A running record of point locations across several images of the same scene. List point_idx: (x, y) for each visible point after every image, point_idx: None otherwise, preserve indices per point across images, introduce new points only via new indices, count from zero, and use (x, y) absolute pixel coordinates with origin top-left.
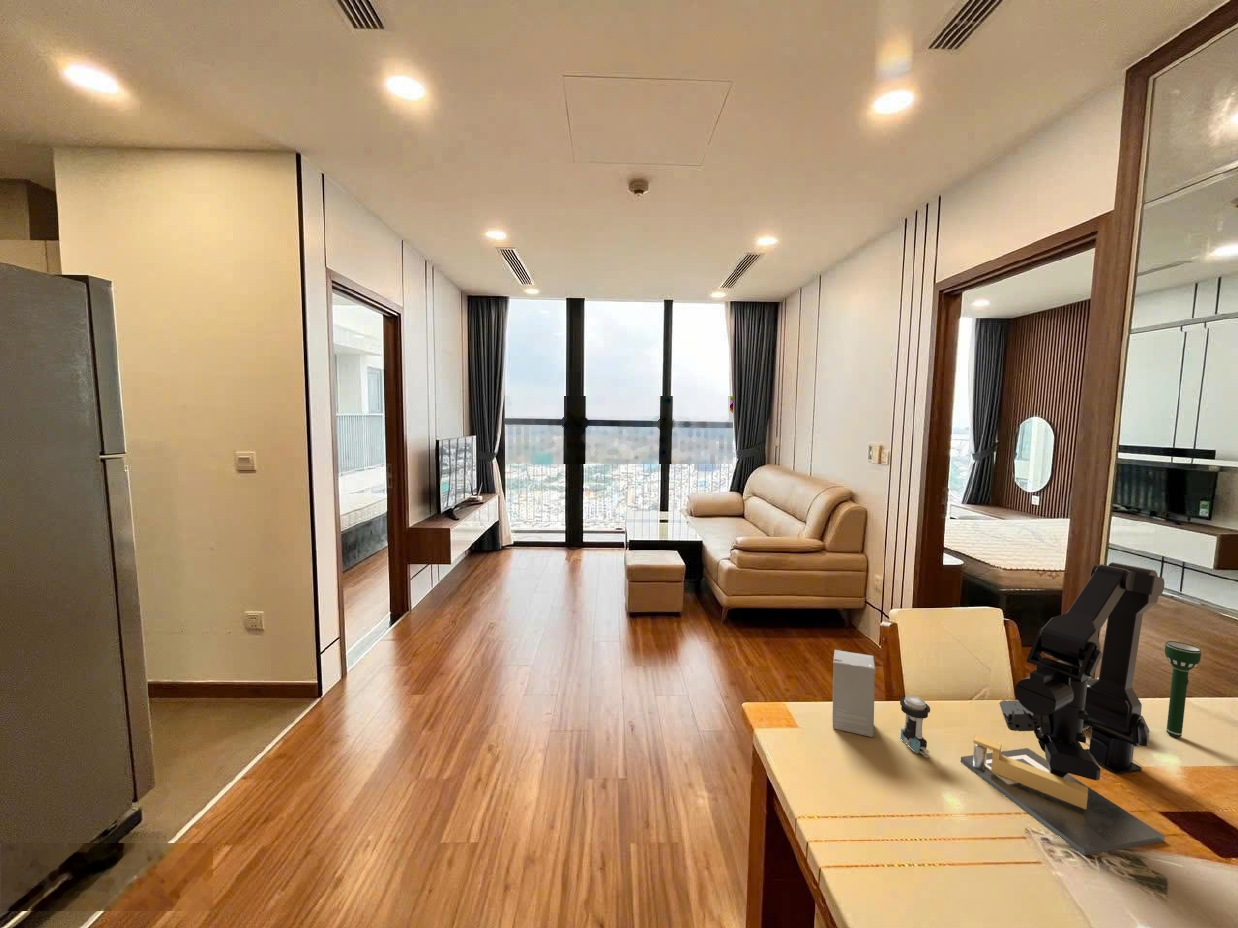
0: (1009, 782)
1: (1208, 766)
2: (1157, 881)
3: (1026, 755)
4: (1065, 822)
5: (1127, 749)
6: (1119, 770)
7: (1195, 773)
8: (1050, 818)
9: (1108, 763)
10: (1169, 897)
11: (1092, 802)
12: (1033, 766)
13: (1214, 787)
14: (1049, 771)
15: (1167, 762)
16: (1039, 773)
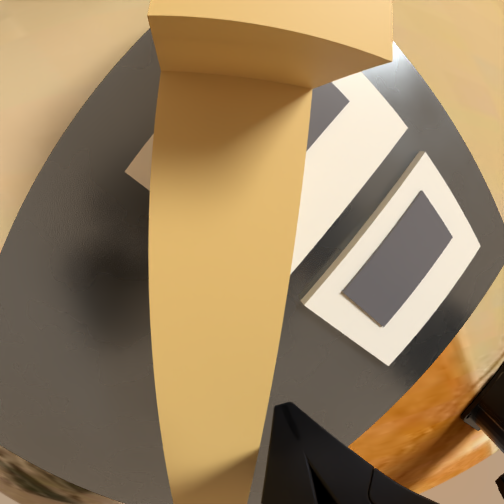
0: (133, 177)
1: (489, 449)
2: (48, 493)
3: (477, 249)
4: (30, 401)
5: (501, 450)
6: (467, 419)
7: (476, 453)
8: (1, 360)
9: (482, 408)
10: (22, 492)
11: None
12: (413, 285)
13: (450, 474)
14: (306, 418)
15: None
16: (190, 406)
